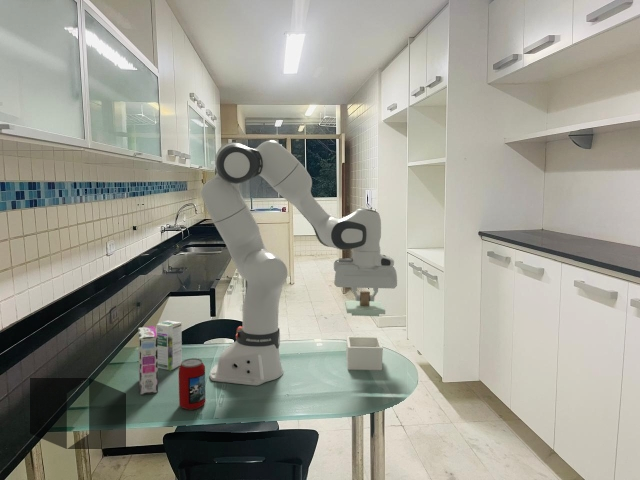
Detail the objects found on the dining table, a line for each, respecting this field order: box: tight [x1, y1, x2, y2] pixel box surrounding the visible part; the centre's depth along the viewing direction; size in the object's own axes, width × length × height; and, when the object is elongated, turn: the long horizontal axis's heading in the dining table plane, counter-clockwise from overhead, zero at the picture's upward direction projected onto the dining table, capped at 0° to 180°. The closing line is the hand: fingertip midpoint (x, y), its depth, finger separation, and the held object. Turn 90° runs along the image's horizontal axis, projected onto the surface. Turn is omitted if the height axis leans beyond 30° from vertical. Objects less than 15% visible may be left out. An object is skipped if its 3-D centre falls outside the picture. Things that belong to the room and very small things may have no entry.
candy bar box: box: [137, 325, 159, 396], centre depth 132 cm, size 11×5×16 cm, turn 23°
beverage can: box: [178, 357, 206, 411], centre depth 121 cm, size 7×7×12 cm
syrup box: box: [155, 320, 183, 372], centre depth 147 cm, size 6×6×14 cm
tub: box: [345, 335, 384, 371], centre depth 150 cm, size 11×11×8 cm
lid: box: [344, 290, 386, 317], centre depth 148 cm, size 12×12×7 cm
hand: (364, 300), depth 148 cm, fingers closed on lid, 3 cm apart
